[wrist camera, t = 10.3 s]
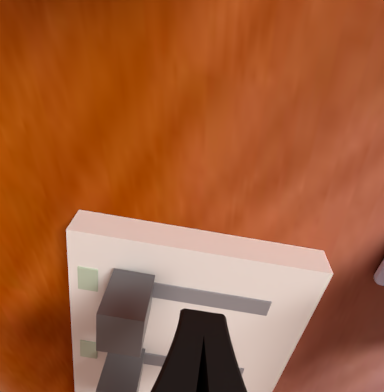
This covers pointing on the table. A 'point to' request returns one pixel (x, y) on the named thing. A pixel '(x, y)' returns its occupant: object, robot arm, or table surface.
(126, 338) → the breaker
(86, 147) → the table surface
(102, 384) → the middle breaker
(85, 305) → the breaker panel
